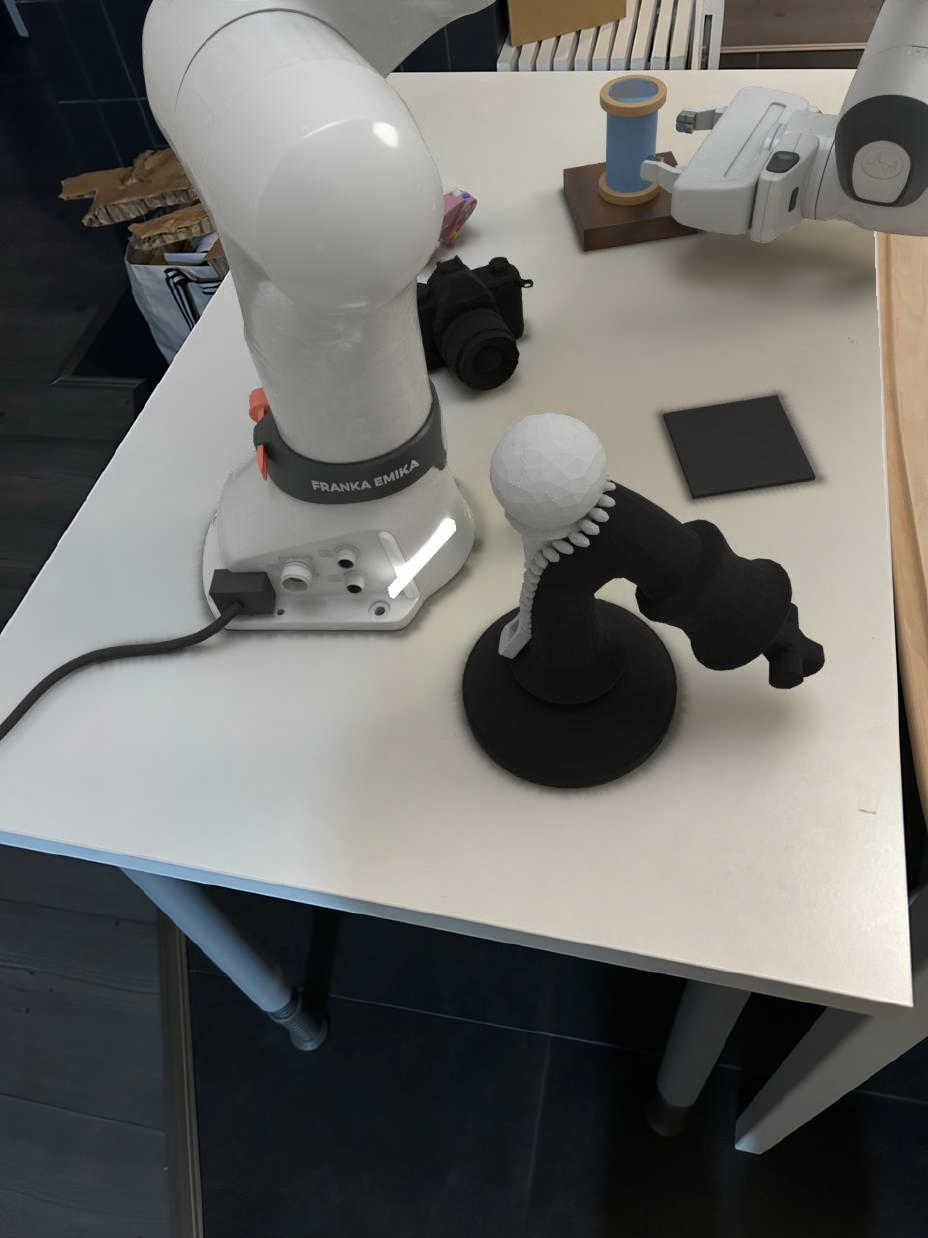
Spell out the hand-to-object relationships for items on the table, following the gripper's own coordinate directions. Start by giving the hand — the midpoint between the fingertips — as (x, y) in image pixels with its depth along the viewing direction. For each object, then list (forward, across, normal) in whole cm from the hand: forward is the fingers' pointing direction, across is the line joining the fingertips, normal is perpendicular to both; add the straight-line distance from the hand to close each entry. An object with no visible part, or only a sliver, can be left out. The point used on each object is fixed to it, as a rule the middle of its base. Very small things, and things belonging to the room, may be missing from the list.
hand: (661, 142), depth 92 cm
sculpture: (-20, +56, +8) cm, 60 cm away
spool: (+3, 0, +5) cm, 6 cm away
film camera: (+8, +29, +8) cm, 31 cm away
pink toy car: (+20, +13, +8) cm, 25 cm away
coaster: (-19, +30, +8) cm, 36 cm away
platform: (+3, 0, +8) cm, 9 cm away
